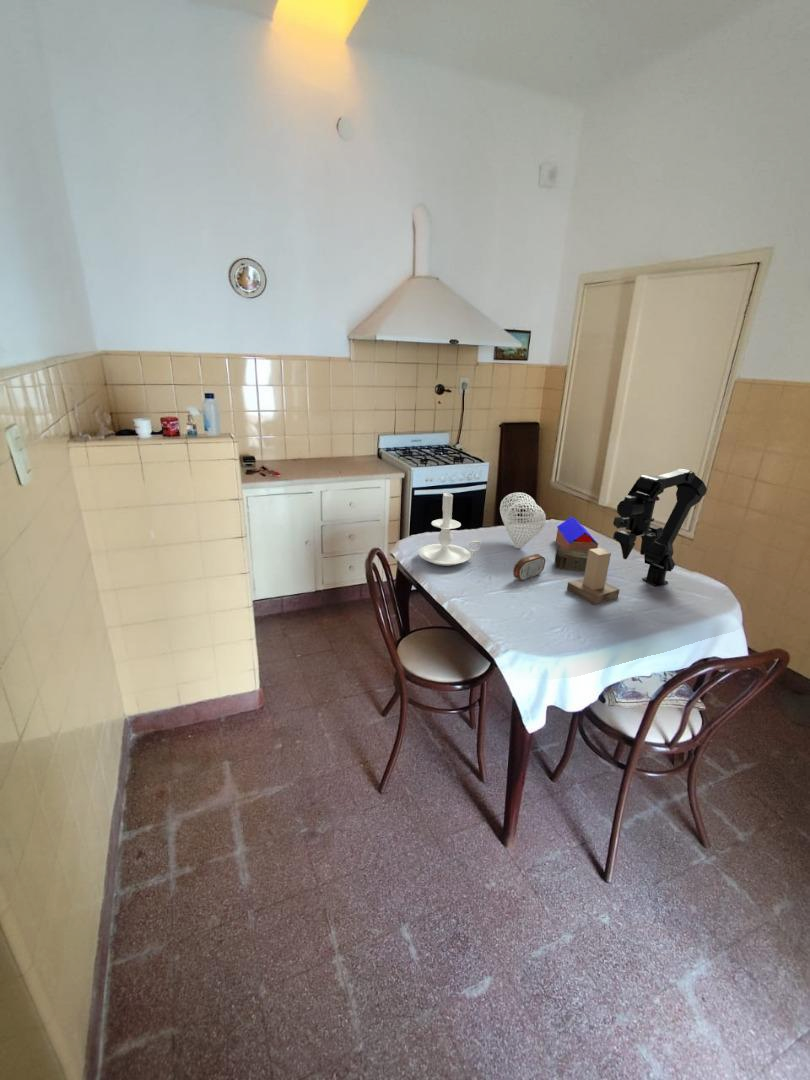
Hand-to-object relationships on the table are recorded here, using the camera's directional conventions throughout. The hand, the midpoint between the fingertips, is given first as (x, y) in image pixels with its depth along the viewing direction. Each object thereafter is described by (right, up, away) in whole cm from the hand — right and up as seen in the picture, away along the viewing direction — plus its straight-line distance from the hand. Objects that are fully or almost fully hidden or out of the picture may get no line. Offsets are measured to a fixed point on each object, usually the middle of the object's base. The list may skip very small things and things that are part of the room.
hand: (633, 556), depth 169 cm
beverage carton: (-11, -5, +22) cm, 25 cm away
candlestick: (-61, -3, +25) cm, 67 cm away
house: (-6, +1, +40) cm, 41 cm away
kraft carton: (-14, -10, +1) cm, 17 cm away
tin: (-33, -8, +13) cm, 36 cm away
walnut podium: (-14, -13, +2) cm, 19 cm away
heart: (-31, +2, +40) cm, 50 cm away
